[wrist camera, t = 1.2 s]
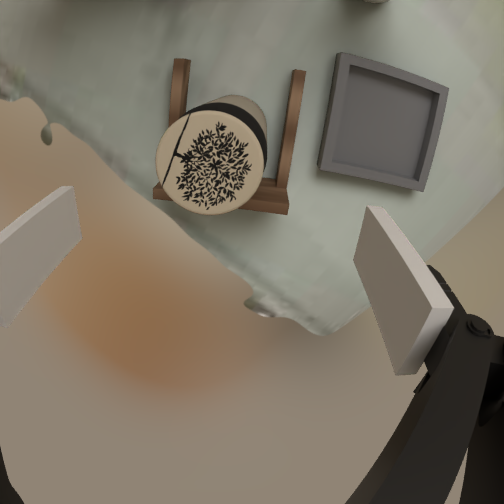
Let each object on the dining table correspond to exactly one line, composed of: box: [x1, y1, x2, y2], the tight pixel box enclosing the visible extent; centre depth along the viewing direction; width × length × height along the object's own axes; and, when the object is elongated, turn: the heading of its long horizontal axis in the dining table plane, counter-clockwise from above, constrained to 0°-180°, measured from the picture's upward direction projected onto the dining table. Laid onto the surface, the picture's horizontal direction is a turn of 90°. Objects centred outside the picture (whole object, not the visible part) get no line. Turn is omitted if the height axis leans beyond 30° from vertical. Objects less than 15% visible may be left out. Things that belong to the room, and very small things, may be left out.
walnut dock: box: [153, 59, 306, 215], centre depth 32 cm, size 15×14×8 cm
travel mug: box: [156, 95, 267, 215], centre depth 28 cm, size 8×8×18 cm
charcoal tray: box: [317, 52, 449, 192], centre depth 33 cm, size 14×14×2 cm
